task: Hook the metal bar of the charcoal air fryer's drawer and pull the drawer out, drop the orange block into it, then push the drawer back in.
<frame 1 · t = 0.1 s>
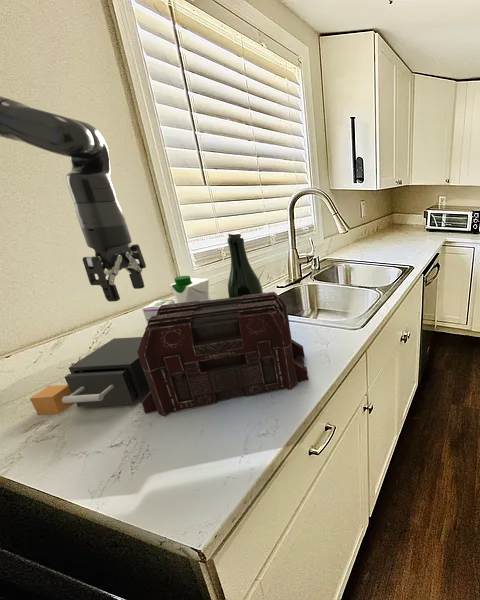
hand: (127, 294, 76), 23 cm above the worktop, tool pointing down, fingers open, 8 cm apart
crate: (235, 380, 83), on the worktop
orange block: (58, 407, 74), on the worktop
drawer: (112, 379, 75), point 5 cm above the worktop, slide at 1.0 cm
beer bottle: (253, 333, 108), on the worktop
milk carton: (202, 333, 108), on the worktop
syrup box: (172, 347, 99), on the worktop
air fryer: (133, 384, 82), on the worktop
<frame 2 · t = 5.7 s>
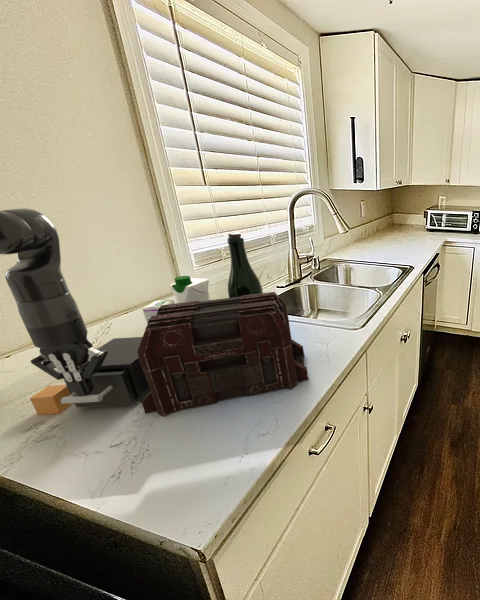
hand: (86, 393, 68), 6 cm above the worktop, tool pointing down, fingers closed
drawer: (111, 380, 75), point 5 cm above the worktop, slide at 1.3 cm, touching gripper
everything else where it was.
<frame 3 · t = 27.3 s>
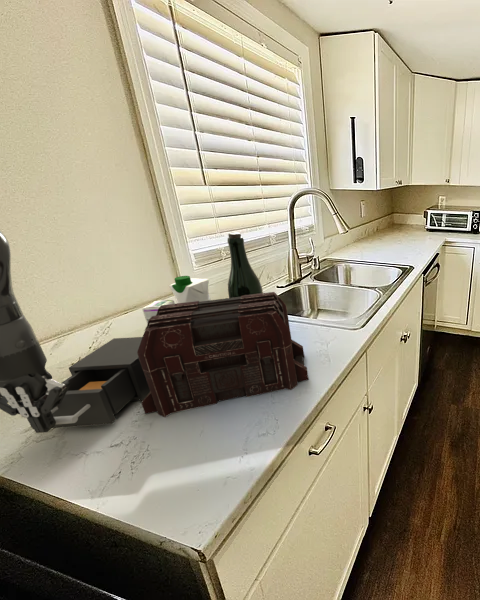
hand: (46, 429, 60), 5 cm above the worktop, tool pointing down, fingers closed
orange block: (99, 404, 71), point 2 cm above the worktop, touching drawer
drawer: (90, 398, 69), point 5 cm above the worktop, slide at 7.6 cm, touching orange block, gripper
everything else where it was.
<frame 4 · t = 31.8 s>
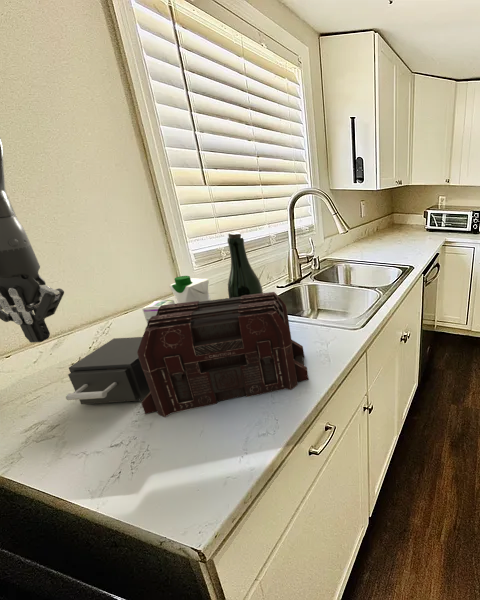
hand: (40, 340, 59), 21 cm above the worktop, tool pointing down, fingers closed
orange block: (123, 384, 78), point 2 cm above the worktop, touching drawer
drawer: (115, 377, 76), point 5 cm above the worktop, slide at 0.1 cm, touching orange block
everything else where it was.
at the end: drawer pulled out 7.8 cm at the most during the clip, back to where it started at the end; orange block inside the target area in the air fryer (2.8 cm from its centre), point 2.1 cm above the air fryer's base; drawer slide at 0.1 cm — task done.
